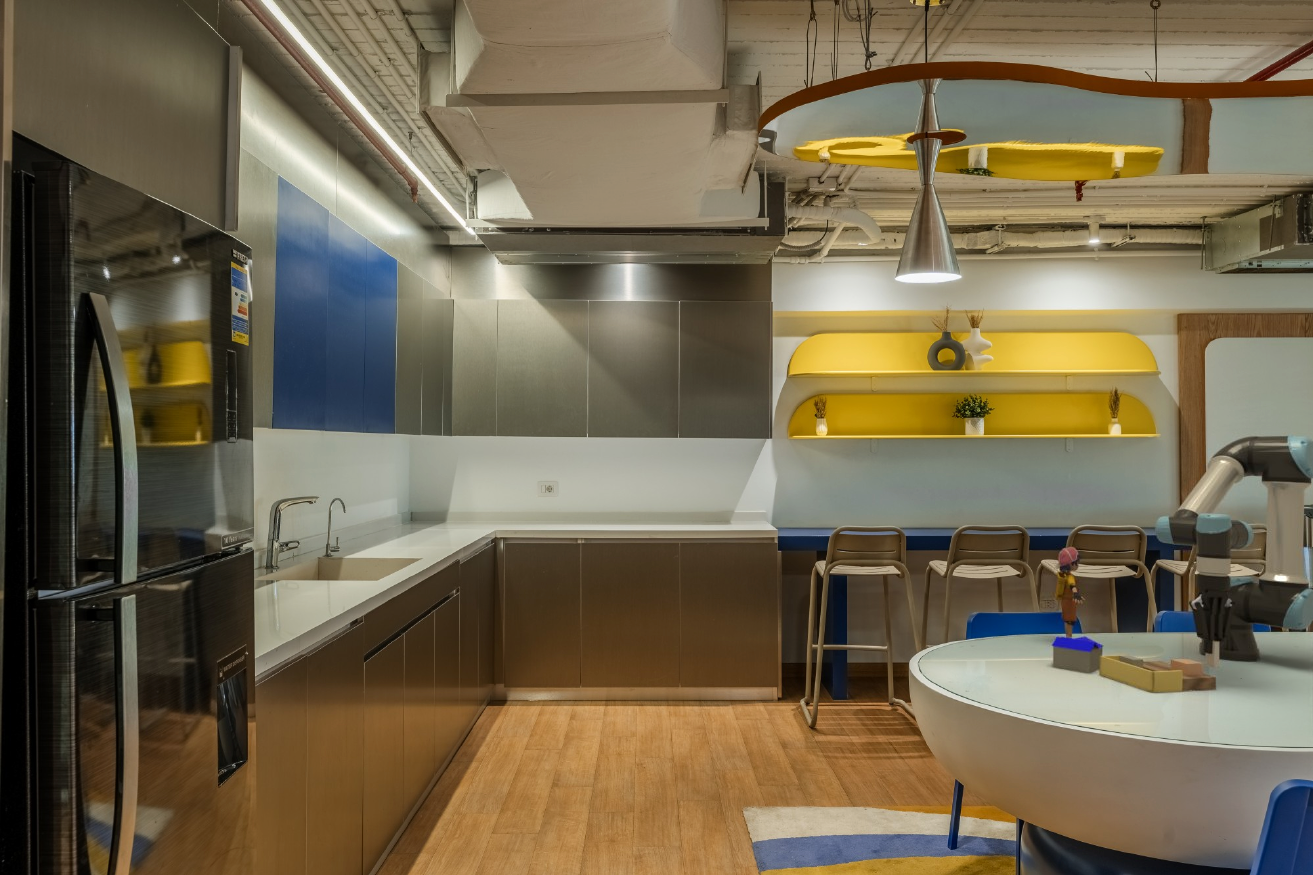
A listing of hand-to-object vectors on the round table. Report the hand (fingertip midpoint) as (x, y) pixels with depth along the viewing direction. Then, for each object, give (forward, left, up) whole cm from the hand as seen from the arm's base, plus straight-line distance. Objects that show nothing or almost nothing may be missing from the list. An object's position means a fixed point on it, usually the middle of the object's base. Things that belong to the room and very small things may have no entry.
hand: (1212, 666), depth 231 cm
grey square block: (+16, -8, -2) cm, 18 cm away
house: (+23, -22, -5) cm, 32 cm away
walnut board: (+9, -4, -5) cm, 11 cm away
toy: (+4, -49, -5) cm, 49 cm away
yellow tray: (+18, -4, -5) cm, 19 cm away
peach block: (+8, 0, -2) cm, 8 cm away
